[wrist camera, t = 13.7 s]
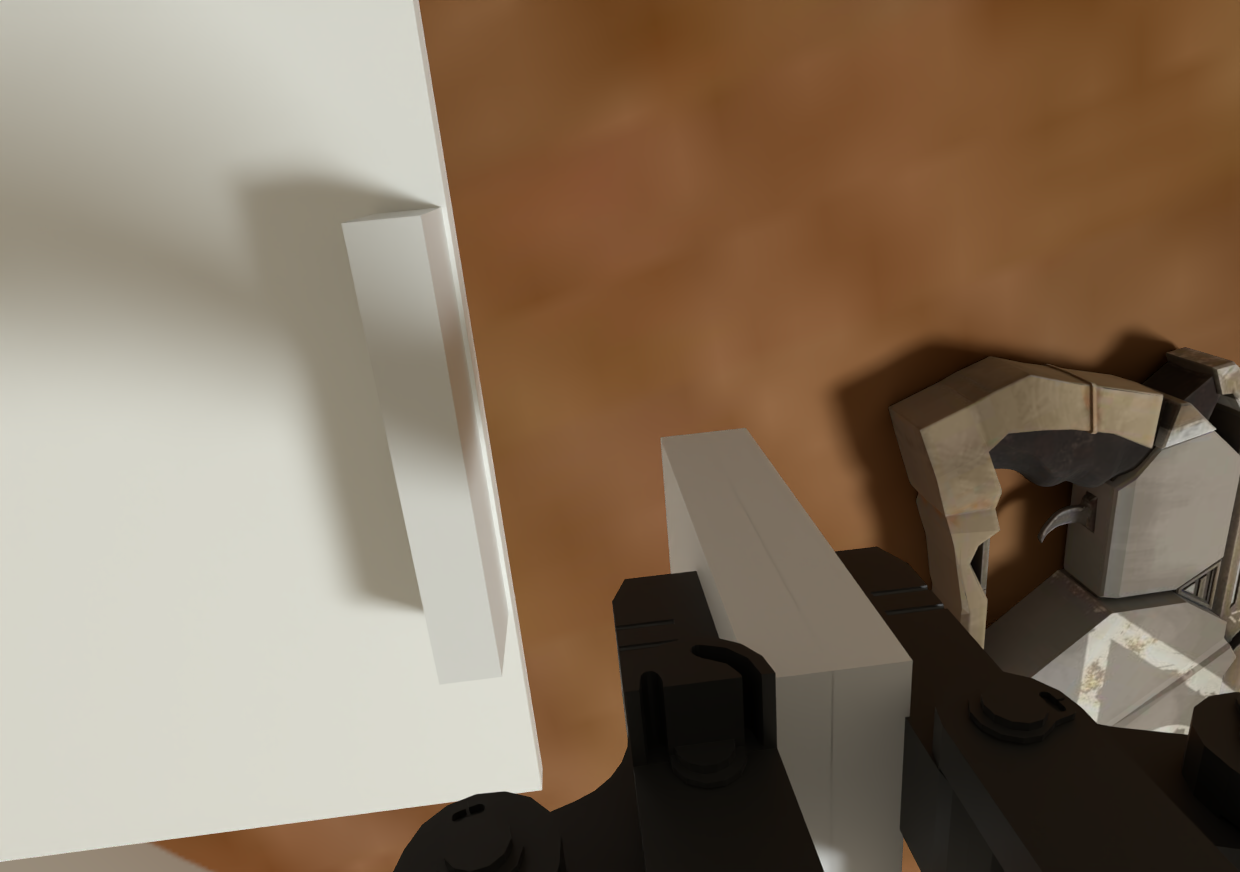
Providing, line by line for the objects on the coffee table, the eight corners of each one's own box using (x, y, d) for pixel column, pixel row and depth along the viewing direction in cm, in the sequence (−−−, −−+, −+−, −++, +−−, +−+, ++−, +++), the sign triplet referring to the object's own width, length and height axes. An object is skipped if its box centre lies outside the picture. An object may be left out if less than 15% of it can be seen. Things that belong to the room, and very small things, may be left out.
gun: (908, 894, 35) (1220, 844, 35) (927, 392, 26) (1340, 337, 26) (874, 825, 38) (1158, 780, 39) (881, 364, 29) (1246, 316, 30)
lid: (-447, -55, 14) (-752, -120, 11) (398, -121, 14) (354, -201, 11) (5, 839, 21) (-91, 957, 18) (542, 768, 22) (540, 871, 19)
